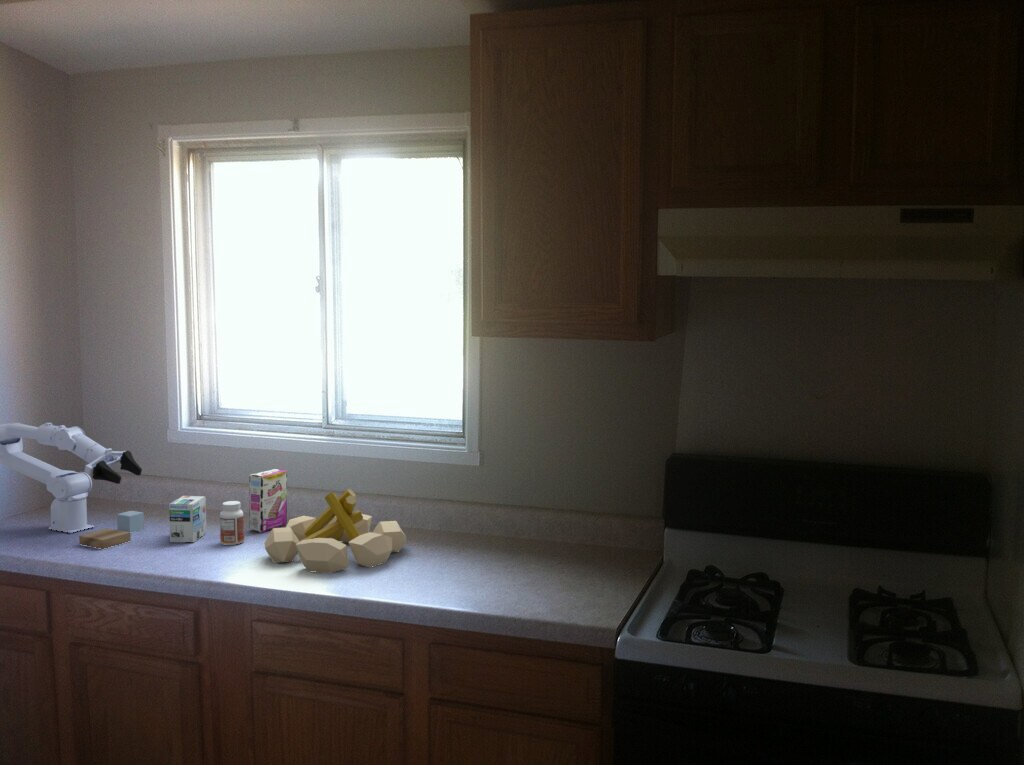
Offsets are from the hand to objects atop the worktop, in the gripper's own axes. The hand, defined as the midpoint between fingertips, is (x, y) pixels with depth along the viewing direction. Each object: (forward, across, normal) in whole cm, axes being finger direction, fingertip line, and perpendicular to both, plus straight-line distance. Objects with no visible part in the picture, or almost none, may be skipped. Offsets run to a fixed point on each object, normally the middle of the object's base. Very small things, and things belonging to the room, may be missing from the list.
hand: (130, 476), depth 259 cm
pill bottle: (+34, +4, +4) cm, 34 cm away
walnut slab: (+6, -11, +15) cm, 19 cm away
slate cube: (+3, +2, +18) cm, 18 cm away
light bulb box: (+21, +3, +10) cm, 23 cm away
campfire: (+63, +6, -8) cm, 64 cm away
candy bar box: (+34, +21, +6) cm, 41 cm away
